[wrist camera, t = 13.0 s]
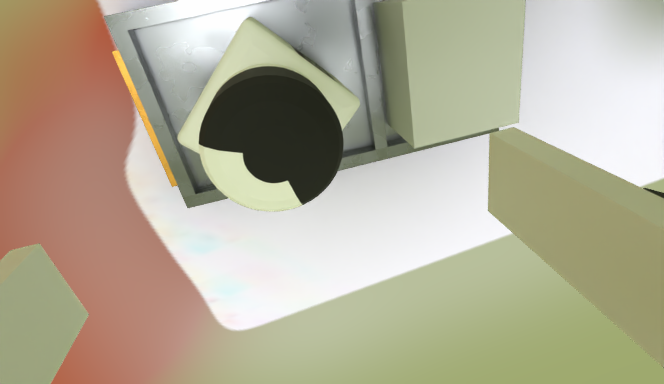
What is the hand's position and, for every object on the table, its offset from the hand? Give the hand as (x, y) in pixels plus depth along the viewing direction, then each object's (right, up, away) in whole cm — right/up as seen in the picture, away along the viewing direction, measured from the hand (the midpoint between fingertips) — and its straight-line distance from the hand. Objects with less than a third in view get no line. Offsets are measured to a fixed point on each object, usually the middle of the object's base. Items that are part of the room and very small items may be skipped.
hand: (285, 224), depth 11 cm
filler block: (+9, +11, +18) cm, 23 cm away
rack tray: (+1, +10, +18) cm, 21 cm away
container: (-3, +8, +17) cm, 19 cm away
